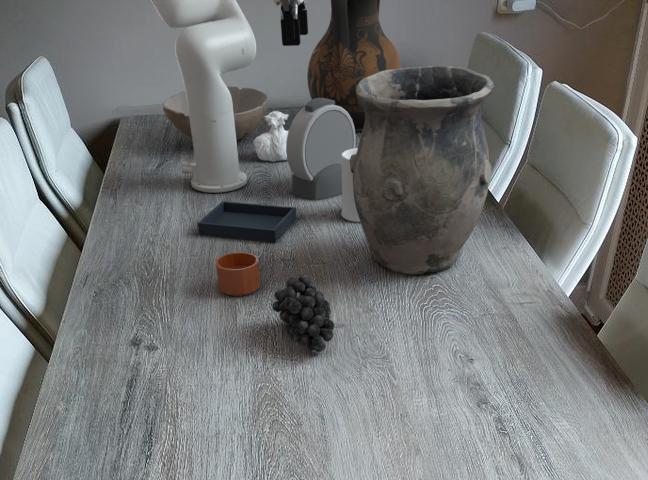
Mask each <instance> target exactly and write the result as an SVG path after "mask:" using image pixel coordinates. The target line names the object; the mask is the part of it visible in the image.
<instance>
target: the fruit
mask: <svg viewBox="0 0 648 480" xmlns="http://www.w3.org/2000/svg"><path fill="white" fill-rule="evenodd" d="M298 294H299V295H298ZM274 299H275V300H277V301H274V302H273V303H272V304H271V305H272V310H273V311H274V312H276V313H279V319H280V320H281V321H283V322H284V324H285V326H284V330H285V332H286V333H287V334H288V335H289V334H290V335H292V338H293V340H294V341H295V342H298V343H301V344H302V345H303V346H305V347H306V348H307V349H308V350H310V351H315V352H317V353H322V352H323V351H324V350H326V348H327V347H326V346H327V345H326V342H330V341H331V340H332V339H333V338H334V332H333V330H334V329H335V322H334V321H333V320H331V316H330V315H331V313H332V309H331V308H330V302H329V301H328V300H326V299H325V297H324V293H323V292H322V291H320V290H318V288H317V286H316V284H314V283H313V281H312V279H311V278H310V277H309V276H308V275H307V274H300V275H299V276H298V278H296V277H293V276H291V277H290V278H288V279H287V281H286V287H284V288H283V289H277V290H276V291H275V292H274Z"/></svg>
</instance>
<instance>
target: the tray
mask: <svg viewBox="0 0 648 480" xmlns="http://www.w3.org/2000/svg"><path fill="white" fill-rule="evenodd" d="M296 220H297V208H296V207H294V206H283V205H272V204H261V203H249V202H239V201H237V202H236V201H225V200H222V201H221V202H219V203H218V205H216V206H214V208H213V209H211V210H210V212H208V213H207V214H206V215H205V216H203V218H201V219H200V220H199V221H198V222H197V230H198V236H207V237H216V238H227V239H235V240H236V239H238V240H246V241H255V242H256V241H257V242H267V243H277V242H278V240H279V239H280V238H281V237H282V236H283V235H284V234H285V233H286V231H287V230H288V229H289V228H290V227H291V225H293V224H294V222H295V221H296Z"/></svg>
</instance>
